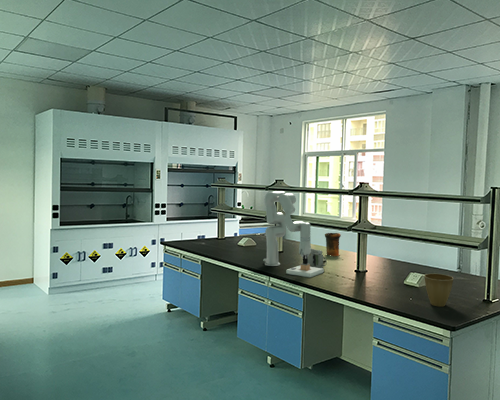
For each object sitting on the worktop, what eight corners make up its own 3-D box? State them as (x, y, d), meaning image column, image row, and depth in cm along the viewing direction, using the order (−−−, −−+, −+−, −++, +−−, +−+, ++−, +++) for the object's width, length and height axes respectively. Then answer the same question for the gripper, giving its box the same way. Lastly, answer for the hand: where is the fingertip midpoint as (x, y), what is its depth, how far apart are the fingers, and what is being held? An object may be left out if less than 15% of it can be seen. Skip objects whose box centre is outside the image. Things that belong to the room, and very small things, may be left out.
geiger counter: (304, 247, 347) (323, 252, 325) (310, 246, 350) (329, 251, 327) (304, 264, 348) (323, 270, 325) (310, 263, 350) (329, 269, 328)
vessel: (334, 257, 376) (334, 234, 375) (321, 255, 387) (321, 233, 386) (344, 255, 385) (343, 233, 385) (331, 253, 396) (331, 232, 396)
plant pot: (418, 303, 239) (418, 275, 238) (434, 299, 247) (435, 272, 246) (441, 310, 226) (442, 281, 225) (458, 306, 234) (459, 277, 233)
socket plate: (286, 273, 313) (286, 268, 313) (300, 269, 328) (300, 264, 328) (309, 277, 300) (309, 272, 300) (323, 272, 316) (323, 267, 316)
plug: (300, 272, 314) (300, 263, 314) (304, 271, 318) (304, 262, 318) (306, 273, 311) (306, 264, 311) (309, 272, 315) (309, 263, 315)
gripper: (306, 237, 321) (306, 261, 322) (295, 239, 310) (295, 264, 311) (314, 238, 317) (314, 262, 318) (304, 240, 305) (304, 266, 306)
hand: (305, 263), depth 314 cm, fingers closed
